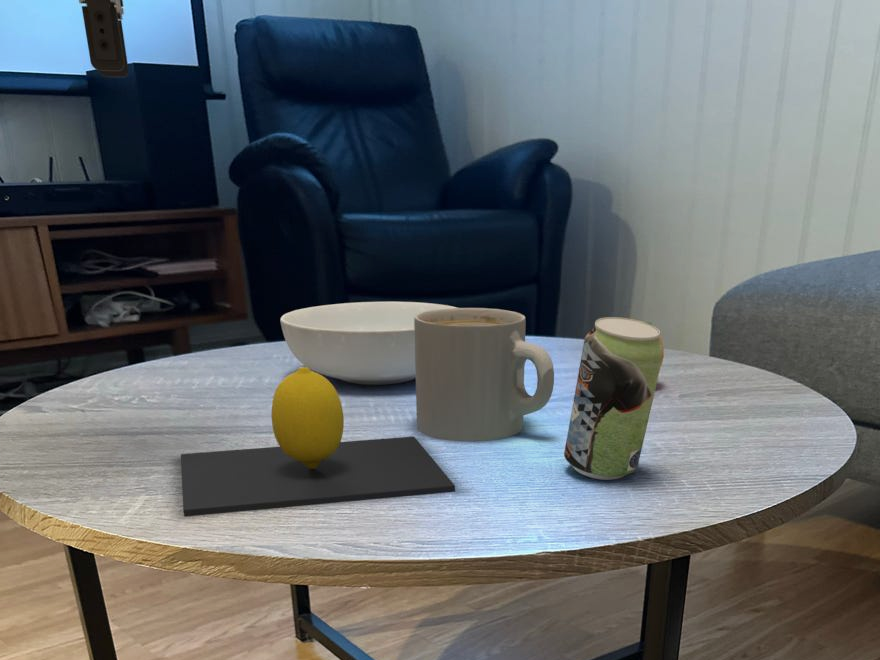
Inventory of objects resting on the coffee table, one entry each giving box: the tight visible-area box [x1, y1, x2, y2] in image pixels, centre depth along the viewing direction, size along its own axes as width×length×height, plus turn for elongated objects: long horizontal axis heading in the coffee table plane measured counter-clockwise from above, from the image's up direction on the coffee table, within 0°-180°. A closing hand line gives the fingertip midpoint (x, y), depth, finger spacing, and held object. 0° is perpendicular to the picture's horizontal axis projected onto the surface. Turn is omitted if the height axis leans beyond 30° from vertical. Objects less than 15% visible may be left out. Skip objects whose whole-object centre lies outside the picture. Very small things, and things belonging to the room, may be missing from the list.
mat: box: [180, 436, 456, 517], centre depth 75 cm, size 20×14×1 cm
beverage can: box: [563, 316, 664, 481], centre depth 73 cm, size 6×7×12 cm
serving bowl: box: [279, 301, 458, 386], centre depth 105 cm, size 21×21×7 cm
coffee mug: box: [414, 307, 555, 442], centre depth 85 cm, size 13×10×10 cm
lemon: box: [271, 366, 345, 469], centre depth 73 cm, size 6×6×8 cm
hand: (111, 73), depth 69 cm, fingers open, 8 cm apart
